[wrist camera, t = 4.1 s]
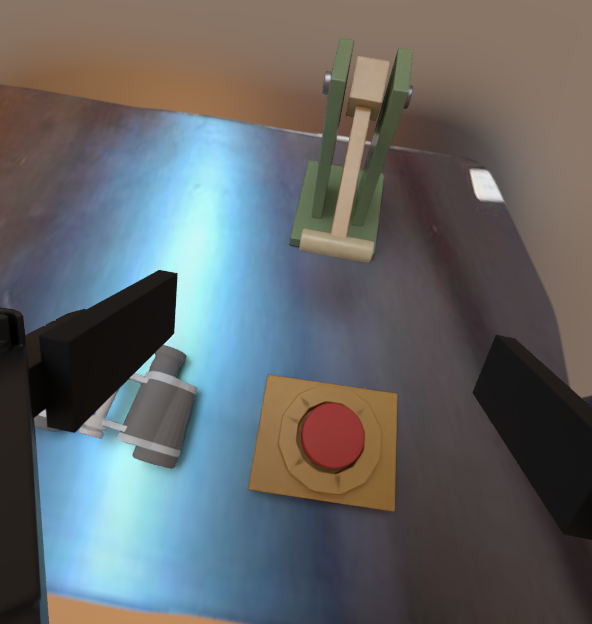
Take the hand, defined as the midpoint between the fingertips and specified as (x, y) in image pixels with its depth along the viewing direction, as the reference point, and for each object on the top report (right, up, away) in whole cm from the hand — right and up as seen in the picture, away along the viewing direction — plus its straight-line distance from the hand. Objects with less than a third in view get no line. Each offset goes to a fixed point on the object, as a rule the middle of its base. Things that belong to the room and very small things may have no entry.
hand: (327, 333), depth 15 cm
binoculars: (-15, -6, +14) cm, 21 cm away
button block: (+1, -9, +13) cm, 16 cm away
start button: (+1, -8, +10) cm, 13 cm away
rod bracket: (+3, +11, +22) cm, 25 cm away
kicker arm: (+3, +11, +12) cm, 16 cm away
